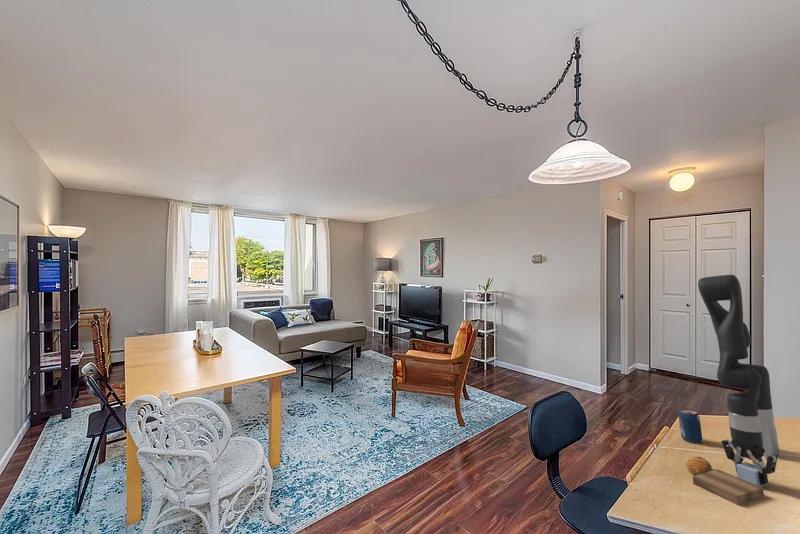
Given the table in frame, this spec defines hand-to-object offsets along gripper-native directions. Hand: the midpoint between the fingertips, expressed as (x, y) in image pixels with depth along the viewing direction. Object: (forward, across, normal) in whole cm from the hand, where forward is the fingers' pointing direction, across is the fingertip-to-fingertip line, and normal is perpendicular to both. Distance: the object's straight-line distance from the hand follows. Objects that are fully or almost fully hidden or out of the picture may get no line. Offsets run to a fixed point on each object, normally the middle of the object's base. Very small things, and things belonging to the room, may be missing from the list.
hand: (751, 479), depth 111 cm
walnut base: (+1, 0, +12) cm, 12 cm away
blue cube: (+1, 0, 0) cm, 1 cm away
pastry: (+1, +11, +7) cm, 13 cm away
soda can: (+1, +28, -15) cm, 32 cm away
